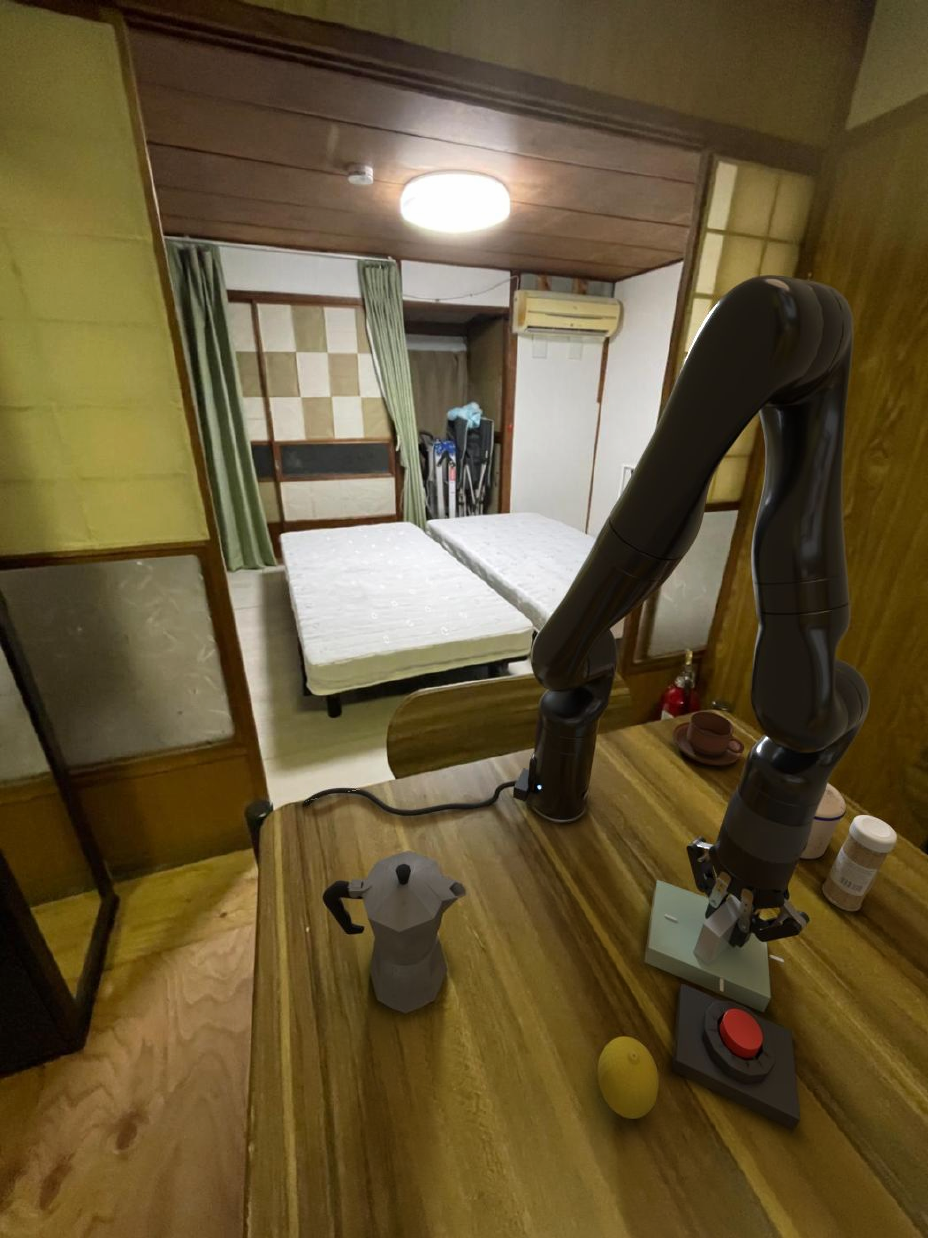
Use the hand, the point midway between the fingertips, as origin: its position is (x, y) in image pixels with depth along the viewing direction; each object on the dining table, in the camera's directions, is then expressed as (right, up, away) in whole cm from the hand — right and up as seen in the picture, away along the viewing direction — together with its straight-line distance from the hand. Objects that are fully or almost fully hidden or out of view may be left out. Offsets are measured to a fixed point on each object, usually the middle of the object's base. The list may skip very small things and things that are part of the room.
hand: (724, 932), depth 62 cm
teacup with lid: (+18, +4, +18) cm, 26 cm away
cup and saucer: (+14, +13, +36) cm, 41 cm away
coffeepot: (-39, -4, -1) cm, 40 cm away
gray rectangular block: (0, -1, 0) cm, 1 cm away
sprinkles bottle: (+20, -1, +9) cm, 22 cm away
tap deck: (-2, -3, +2) cm, 4 cm away
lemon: (-16, -10, -11) cm, 22 cm away
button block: (-3, -8, -8) cm, 12 cm away
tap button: (-3, -5, -9) cm, 11 cm away
